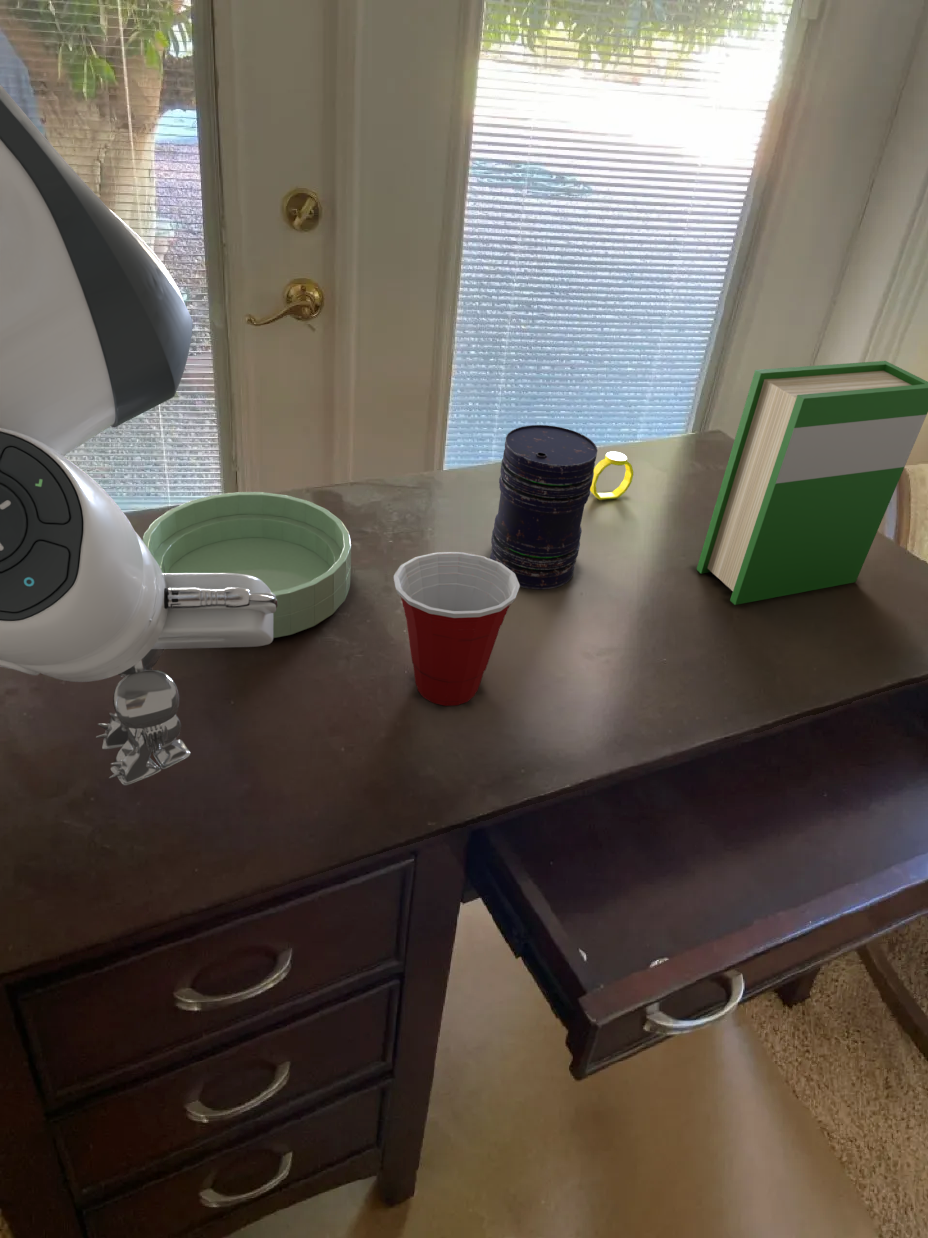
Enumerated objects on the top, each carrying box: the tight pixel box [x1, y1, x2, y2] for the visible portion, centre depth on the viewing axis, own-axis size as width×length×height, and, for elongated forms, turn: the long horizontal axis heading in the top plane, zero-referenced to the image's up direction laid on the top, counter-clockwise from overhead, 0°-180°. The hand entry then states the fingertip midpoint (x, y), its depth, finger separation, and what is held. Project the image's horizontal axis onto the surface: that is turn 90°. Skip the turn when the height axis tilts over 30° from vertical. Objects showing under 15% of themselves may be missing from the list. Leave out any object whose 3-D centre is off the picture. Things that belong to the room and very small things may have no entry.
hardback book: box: [696, 360, 928, 606], centre depth 97 cm, size 18×7×24 cm, turn 113°
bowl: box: [142, 491, 352, 639], centre depth 91 cm, size 20×20×6 cm
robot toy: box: [95, 649, 191, 787], centre depth 61 cm, size 15×6×15 cm, turn 29°
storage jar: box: [489, 424, 598, 590], centre depth 96 cm, size 10×10×15 cm
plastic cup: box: [393, 551, 521, 707], centre depth 79 cm, size 11×11×12 cm
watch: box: [590, 451, 635, 501], centre depth 114 cm, size 6×3×6 cm, turn 115°
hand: (125, 633), depth 61 cm, fingers closed on robot toy, 5 cm apart
